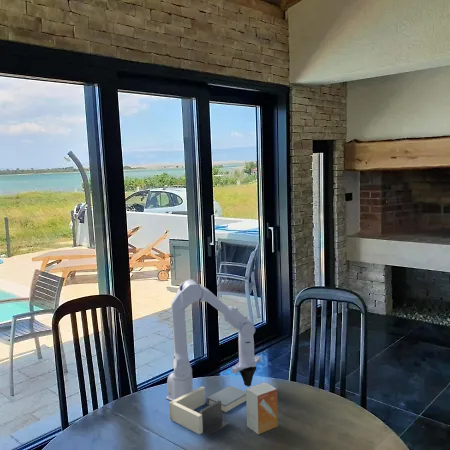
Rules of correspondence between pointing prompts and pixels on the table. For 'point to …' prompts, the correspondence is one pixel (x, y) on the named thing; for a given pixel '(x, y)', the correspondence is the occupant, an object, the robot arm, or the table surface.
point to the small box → (261, 407)
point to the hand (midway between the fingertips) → (247, 385)
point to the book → (228, 398)
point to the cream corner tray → (188, 410)
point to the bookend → (212, 418)
